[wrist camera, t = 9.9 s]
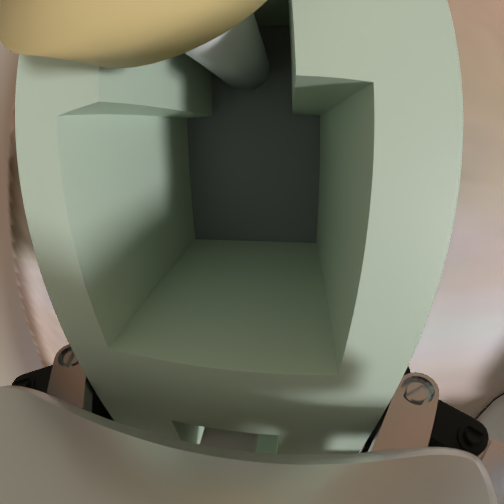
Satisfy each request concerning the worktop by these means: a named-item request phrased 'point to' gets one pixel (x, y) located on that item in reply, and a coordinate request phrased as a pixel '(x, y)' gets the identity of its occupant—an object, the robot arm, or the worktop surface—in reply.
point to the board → (205, 128)
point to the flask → (494, 419)
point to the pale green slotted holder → (250, 252)
